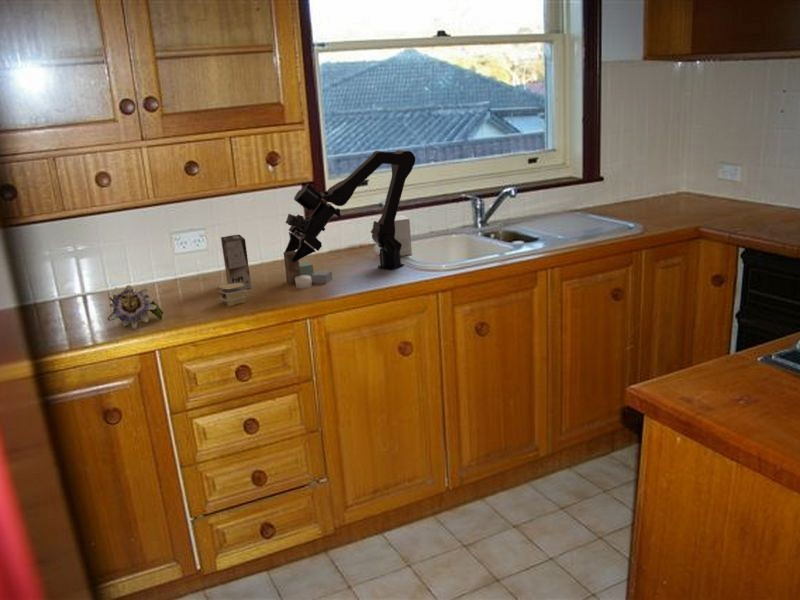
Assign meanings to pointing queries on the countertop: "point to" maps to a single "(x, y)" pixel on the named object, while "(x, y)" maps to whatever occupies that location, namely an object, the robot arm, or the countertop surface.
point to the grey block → (322, 277)
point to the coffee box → (236, 260)
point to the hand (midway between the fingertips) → (288, 258)
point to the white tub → (303, 281)
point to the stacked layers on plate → (233, 293)
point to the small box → (403, 234)
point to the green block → (305, 268)
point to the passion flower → (133, 307)
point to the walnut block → (291, 267)
